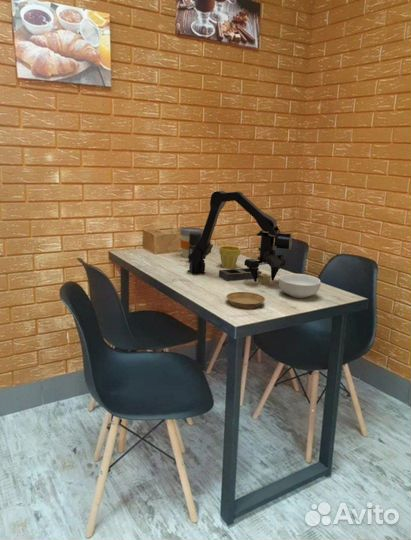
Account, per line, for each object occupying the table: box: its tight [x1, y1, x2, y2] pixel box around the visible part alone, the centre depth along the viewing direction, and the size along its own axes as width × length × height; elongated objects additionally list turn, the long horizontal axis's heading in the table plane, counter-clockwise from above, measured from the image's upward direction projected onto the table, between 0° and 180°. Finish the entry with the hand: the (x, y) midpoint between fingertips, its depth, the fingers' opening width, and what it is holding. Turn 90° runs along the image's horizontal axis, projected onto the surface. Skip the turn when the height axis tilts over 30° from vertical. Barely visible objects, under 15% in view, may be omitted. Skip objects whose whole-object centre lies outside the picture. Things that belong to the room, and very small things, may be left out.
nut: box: [257, 273, 272, 286], centre depth 202 cm, size 4×4×4 cm
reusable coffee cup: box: [179, 227, 204, 259], centre depth 244 cm, size 13×12×15 cm
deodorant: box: [187, 233, 201, 264], centre depth 232 cm, size 6×6×15 cm
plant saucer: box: [225, 291, 266, 309], centre depth 174 cm, size 15×15×3 cm
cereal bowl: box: [278, 273, 321, 299], centre depth 187 cm, size 17×17×7 cm
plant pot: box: [218, 245, 241, 269], centre depth 228 cm, size 10×10×10 cm
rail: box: [218, 267, 263, 282], centre depth 210 cm, size 18×8×3 cm, turn 117°
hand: (263, 281), depth 202 cm, fingers open, 9 cm apart
